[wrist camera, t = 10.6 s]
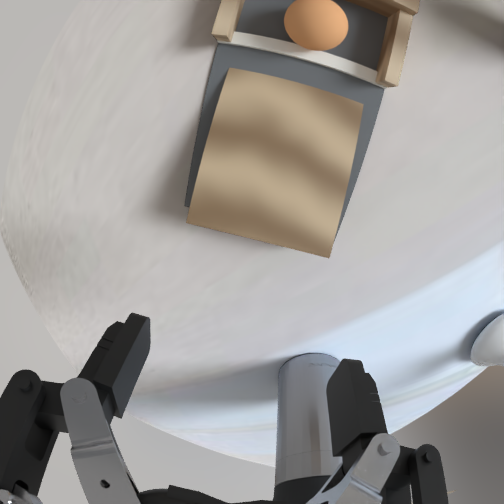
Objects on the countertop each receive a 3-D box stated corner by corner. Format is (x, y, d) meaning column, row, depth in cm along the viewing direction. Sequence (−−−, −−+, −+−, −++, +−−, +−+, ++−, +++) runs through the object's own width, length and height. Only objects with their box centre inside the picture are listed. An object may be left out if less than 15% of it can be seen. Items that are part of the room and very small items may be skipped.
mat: (333, 242, 28) (334, 245, 27) (185, 205, 27) (182, 208, 27) (401, 11, 16) (404, 9, 15) (243, -34, 15) (242, -38, 15)
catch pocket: (384, 87, 20) (402, 85, 17) (218, 41, 20) (208, 30, 16) (401, 10, 16) (419, -1, 12) (242, -35, 15) (237, -54, 12)
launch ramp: (318, 235, 29) (326, 264, 24) (201, 206, 28) (185, 229, 23) (360, 103, 22) (382, 103, 17) (231, 68, 21) (219, 57, 16)
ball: (334, 58, 20) (348, 11, 17) (344, 60, 16) (361, 4, 13) (278, 42, 20) (291, -5, 16) (275, 40, 16) (291, -17, 13)
